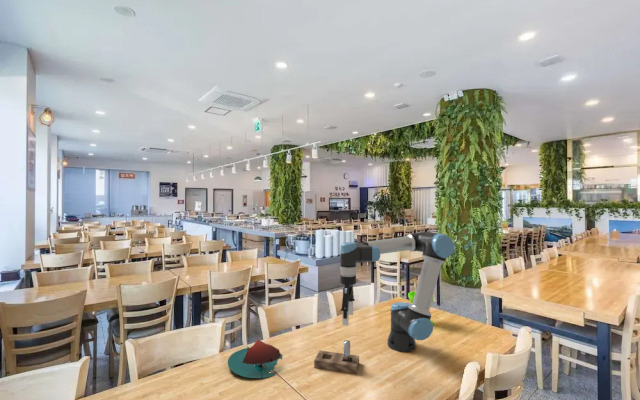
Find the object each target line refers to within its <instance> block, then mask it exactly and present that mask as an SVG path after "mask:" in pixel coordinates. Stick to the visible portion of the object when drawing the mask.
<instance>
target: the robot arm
mask: <svg viewBox="0 0 640 400" xmlns="http://www.w3.org/2000/svg"><path fill="white" fill-rule="evenodd" d="M404 251H405V252H406V251H409V252H410V253H412V252H419V253H420V252H421V253H422V254H421V255H422V258H423V264H422V266H421V271H420V273H419V278H418V281H417V285H416V289H415V291H416V292H415V291H414V292H415V296H414V300H413V303H411V302H410V303H409V302H403V301H402V302H401V301H400V302H393V303H392V304H391V306H390V331H389V335H388V336H387V337H388V338H387V341H386V342H387V346H388V347H389V349H390V348H391V349H392V350H393V351H397V352H404V353H408V352H413V351H415V350H416V349H417V342H416V341H425V340H426V339H429V337H430V336H431V335H432V333H433V330H434V324H433V325H432V322H433V321H432V320H431V318H432V313H431V309H430V308H431V305H432V303H433V301H432V298H433V299H434V297H433V296H434V294H435V291H436V286H437V283H438V278H439V275H440V272H441V267H442V265H443V264H445V263H446V260H447V258H449V257H451V256H452V255H453V253H454V251H455V245H454V242H453V240H452V238H451V237H450V236H448V235H447V234H445V233H440V232H439V233H438V232H434V231H433V232H432V231H421V232H415V233H409V234H406V236H400V237H399V236H398V237H392V238H384V239H376V240H370V241H362V242H358V241H352V242H351V241H348V242H347V241H346V242H342V243H341V245H340V253H339V254H340V267H339V271H340V272H339V273H340V277H339V278H340V279H339V281H340V284H341V285H344V287H343V288H342V299H341V300H342V301H341V308H340V311H341V312H342V315H341V316H342V320H341V321H342V323H341V324H342V326H349V323H350V321H349V315H350V316H354V302H355V300H356V299H355V296H354V285H356V283H357V276H356V275H357V263H370V262H371V263H373V262H378V261H379V260H380V259H381V255H383V254H391V253H398V252H404ZM431 302H432V303H431ZM430 320H431V321H432V322H431V321H430Z"/></svg>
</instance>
